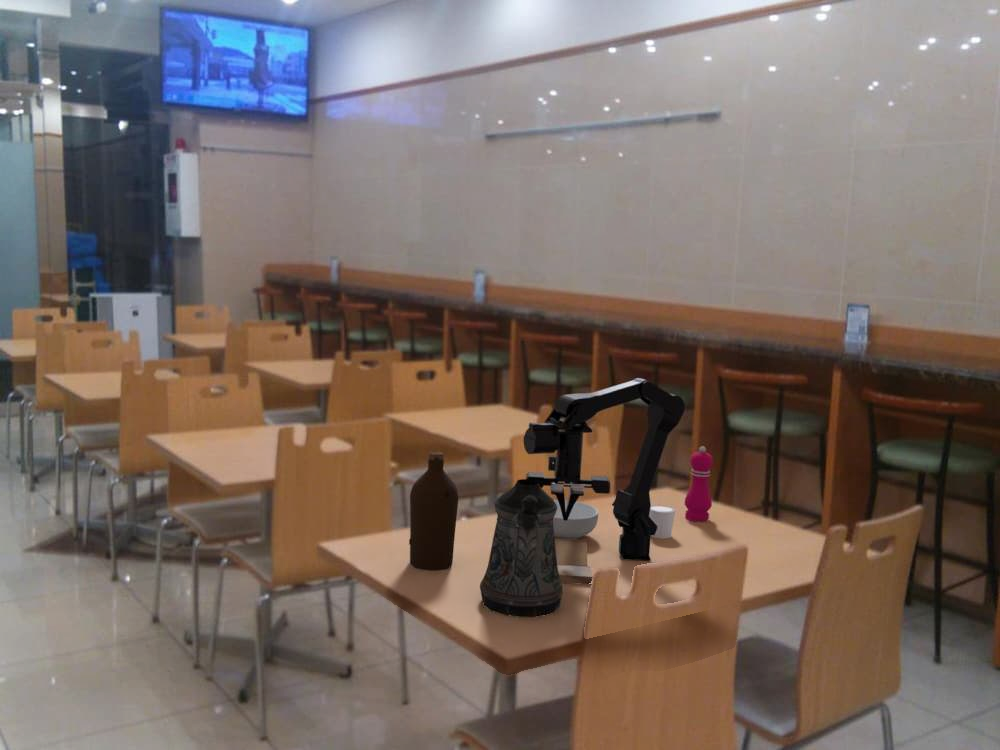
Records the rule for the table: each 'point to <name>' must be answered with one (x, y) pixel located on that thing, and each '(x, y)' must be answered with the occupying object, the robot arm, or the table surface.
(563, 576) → the laid board
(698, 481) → the pepper mill
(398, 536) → the table surface
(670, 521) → the shot glass
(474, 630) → the table surface
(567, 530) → the cereal bowl
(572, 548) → the plank
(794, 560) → the table surface
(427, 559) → the olive oil
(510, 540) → the ornate coffee pot
